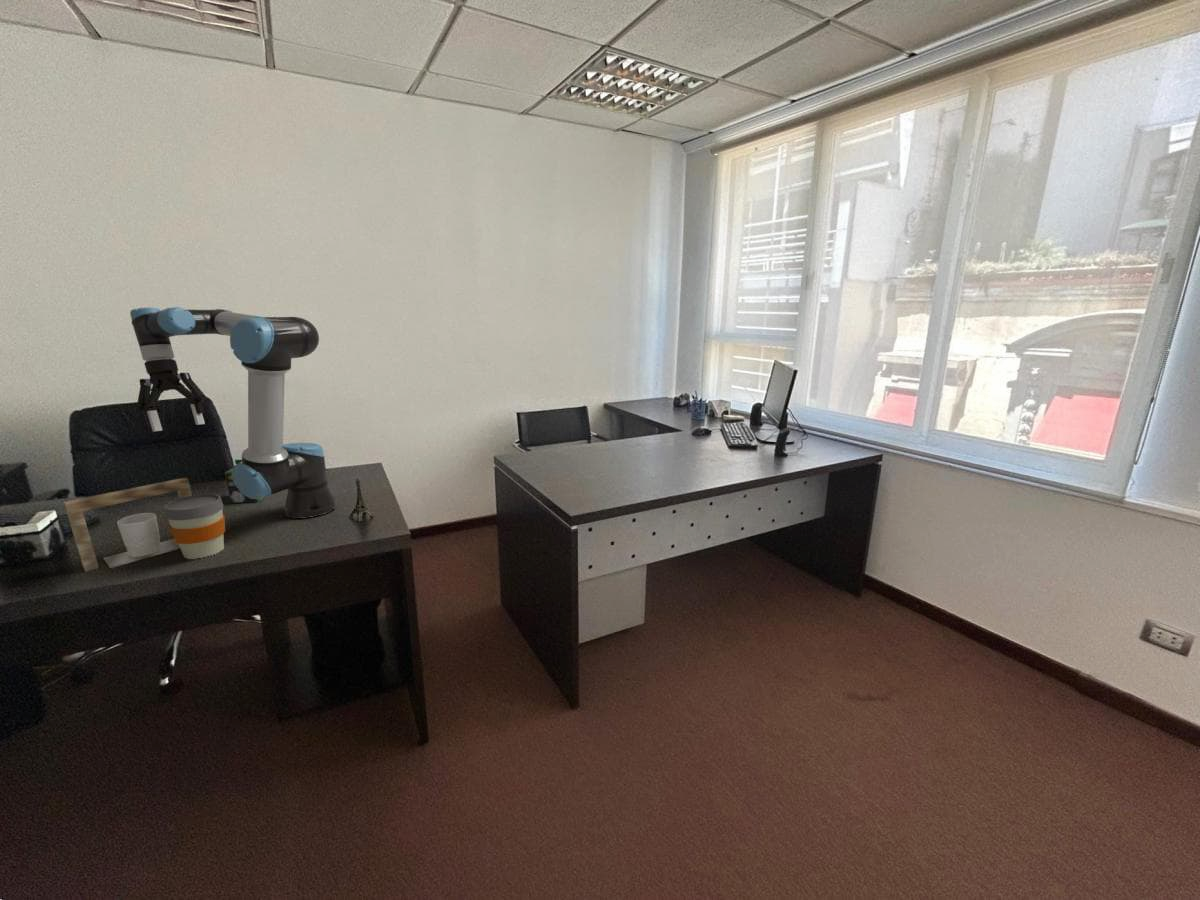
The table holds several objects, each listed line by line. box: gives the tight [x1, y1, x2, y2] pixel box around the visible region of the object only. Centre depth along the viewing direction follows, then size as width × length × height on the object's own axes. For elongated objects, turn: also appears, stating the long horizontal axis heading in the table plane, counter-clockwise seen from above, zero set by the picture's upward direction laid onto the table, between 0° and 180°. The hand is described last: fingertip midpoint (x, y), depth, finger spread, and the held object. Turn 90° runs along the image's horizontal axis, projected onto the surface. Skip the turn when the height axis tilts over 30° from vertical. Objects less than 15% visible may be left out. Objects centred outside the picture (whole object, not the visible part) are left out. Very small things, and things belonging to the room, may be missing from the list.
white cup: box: [116, 512, 161, 557], centre depth 137 cm, size 8×8×10 cm
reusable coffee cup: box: [164, 493, 226, 560], centre depth 138 cm, size 13×12×15 cm
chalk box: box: [224, 459, 265, 504], centre depth 176 cm, size 9×9×15 cm
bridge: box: [63, 477, 193, 572], centre depth 136 cm, size 24×8×18 cm, turn 142°
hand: (179, 427), depth 158 cm, fingers open, 13 cm apart
